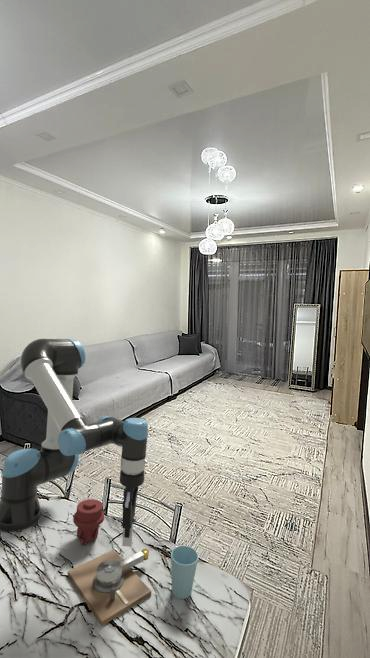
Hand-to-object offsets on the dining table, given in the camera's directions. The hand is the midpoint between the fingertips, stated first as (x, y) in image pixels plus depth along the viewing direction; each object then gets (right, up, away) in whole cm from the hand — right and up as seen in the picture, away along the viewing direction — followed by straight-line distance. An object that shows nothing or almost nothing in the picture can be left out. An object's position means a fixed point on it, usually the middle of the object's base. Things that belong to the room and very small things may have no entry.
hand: (126, 544), depth 102 cm
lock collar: (0, -3, -7) cm, 7 cm away
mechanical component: (-15, -4, +8) cm, 17 cm away
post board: (-3, -5, -10) cm, 11 cm away
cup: (+17, -7, -10) cm, 21 cm away
